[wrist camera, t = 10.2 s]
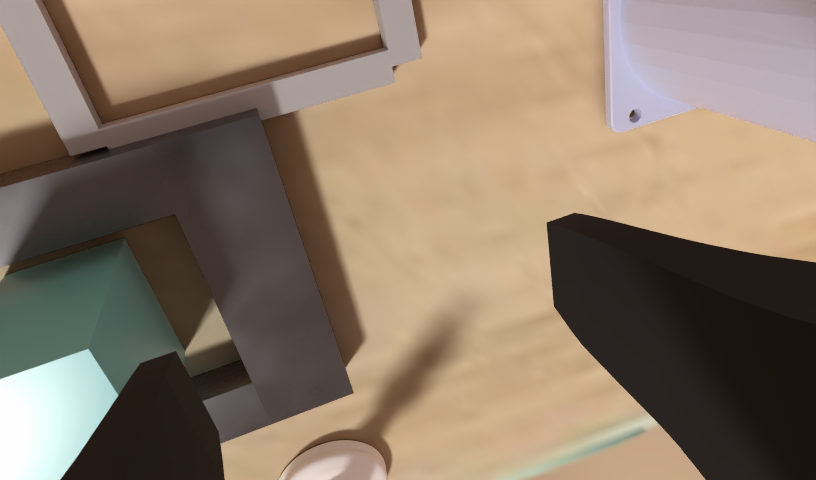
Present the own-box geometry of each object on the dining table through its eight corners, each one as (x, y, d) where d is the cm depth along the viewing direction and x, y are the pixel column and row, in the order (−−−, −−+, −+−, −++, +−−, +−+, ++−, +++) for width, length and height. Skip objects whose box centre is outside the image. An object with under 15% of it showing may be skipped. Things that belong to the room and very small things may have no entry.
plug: (124, 237, 18) (88, 349, 13) (185, 351, 20) (175, 483, 15) (5, 274, 17) (-84, 408, 12) (82, 387, 20) (34, 538, 14)
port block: (255, 103, 17) (259, 114, 16) (345, 368, 23) (353, 392, 21) (-265, 247, 15) (-309, 274, 14) (-26, 505, 20) (-42, 542, 19)
